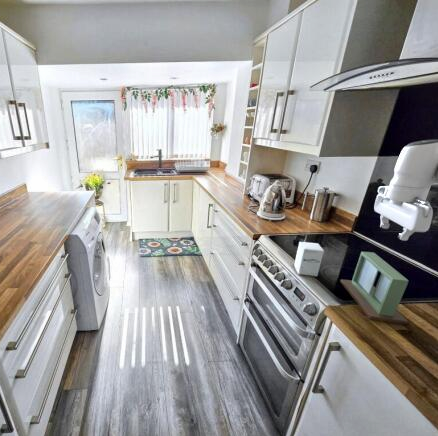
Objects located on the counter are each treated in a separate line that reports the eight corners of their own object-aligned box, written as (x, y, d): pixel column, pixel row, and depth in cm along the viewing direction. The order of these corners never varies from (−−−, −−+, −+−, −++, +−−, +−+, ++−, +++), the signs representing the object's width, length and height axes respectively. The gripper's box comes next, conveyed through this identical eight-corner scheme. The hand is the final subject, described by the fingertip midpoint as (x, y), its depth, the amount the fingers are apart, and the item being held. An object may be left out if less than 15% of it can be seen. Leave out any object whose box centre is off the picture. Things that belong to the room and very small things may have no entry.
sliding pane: (389, 296, 85) (399, 270, 81) (404, 311, 78) (417, 283, 74) (373, 294, 86) (382, 268, 82) (386, 309, 79) (398, 281, 75)
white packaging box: (298, 274, 103) (303, 248, 99) (293, 265, 110) (299, 241, 105) (317, 277, 101) (324, 250, 97) (312, 267, 108) (318, 242, 103)
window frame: (369, 284, 95) (381, 251, 90) (407, 324, 76) (425, 285, 71) (340, 281, 98) (349, 248, 92) (369, 319, 79) (384, 280, 74)
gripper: (447, 203, 65) (429, 248, 70) (397, 186, 84) (385, 222, 89) (418, 203, 67) (402, 246, 72) (375, 186, 85) (364, 222, 90)
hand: (392, 233), depth 80 cm, fingers open, 8 cm apart
